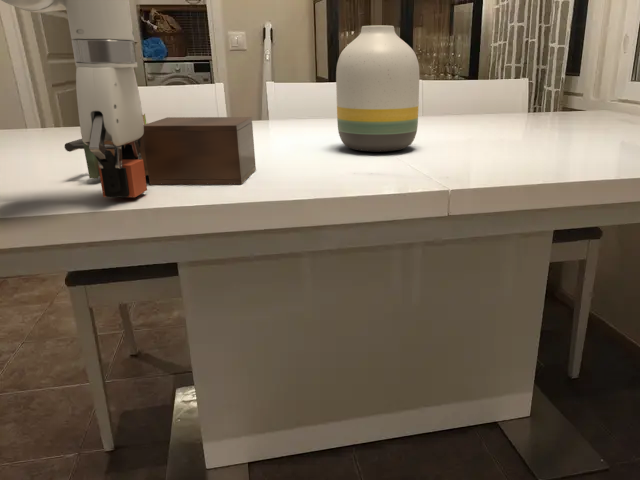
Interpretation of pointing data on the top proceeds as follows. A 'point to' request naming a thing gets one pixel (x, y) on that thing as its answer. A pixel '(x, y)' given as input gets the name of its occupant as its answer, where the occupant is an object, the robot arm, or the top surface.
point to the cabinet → (199, 150)
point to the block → (132, 177)
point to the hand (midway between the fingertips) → (125, 190)
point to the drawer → (92, 160)
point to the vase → (377, 91)
